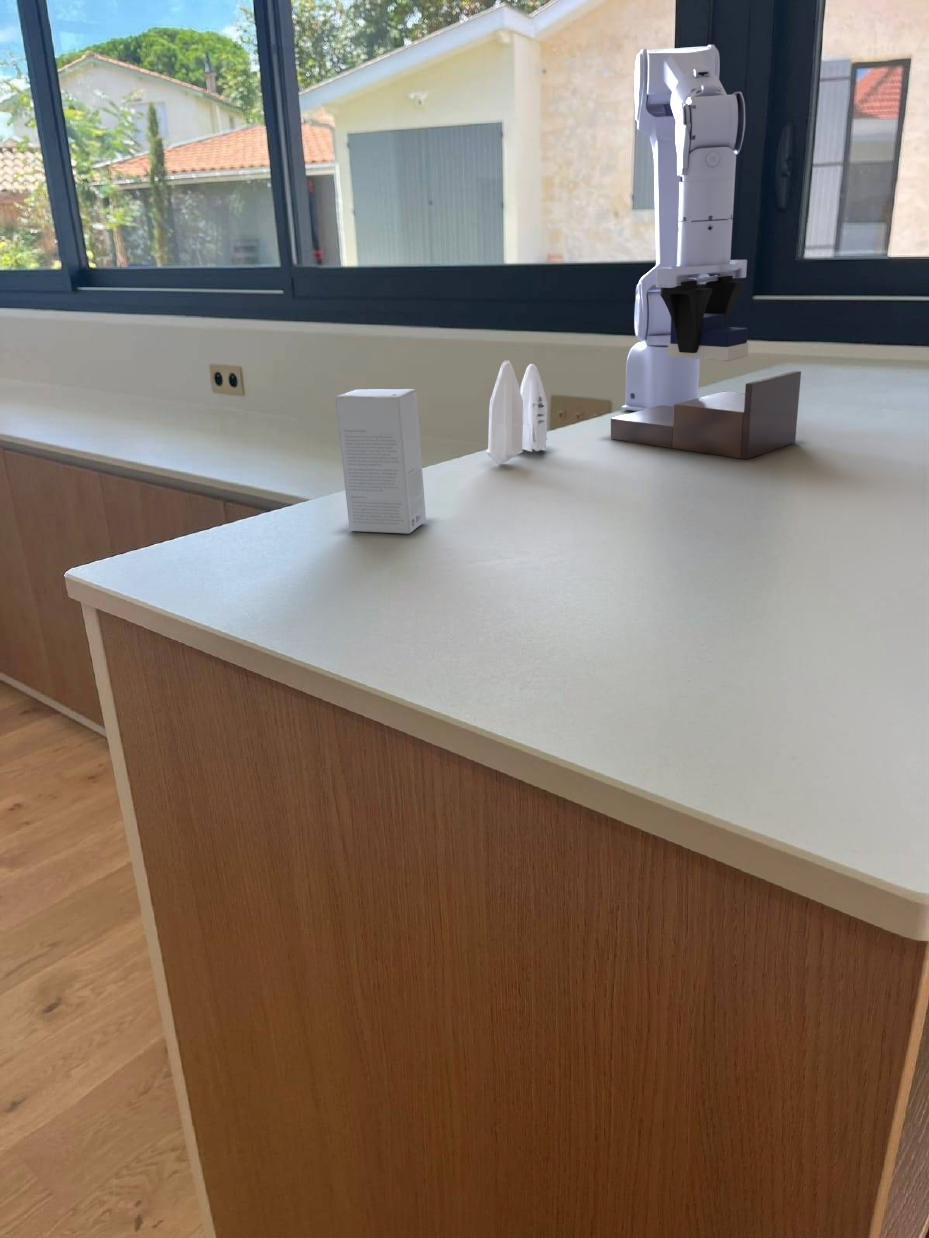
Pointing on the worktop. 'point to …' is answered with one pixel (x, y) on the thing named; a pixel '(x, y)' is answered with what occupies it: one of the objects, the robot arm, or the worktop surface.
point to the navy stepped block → (714, 341)
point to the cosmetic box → (381, 459)
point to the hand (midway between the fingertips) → (699, 350)
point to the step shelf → (721, 420)
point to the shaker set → (516, 414)
